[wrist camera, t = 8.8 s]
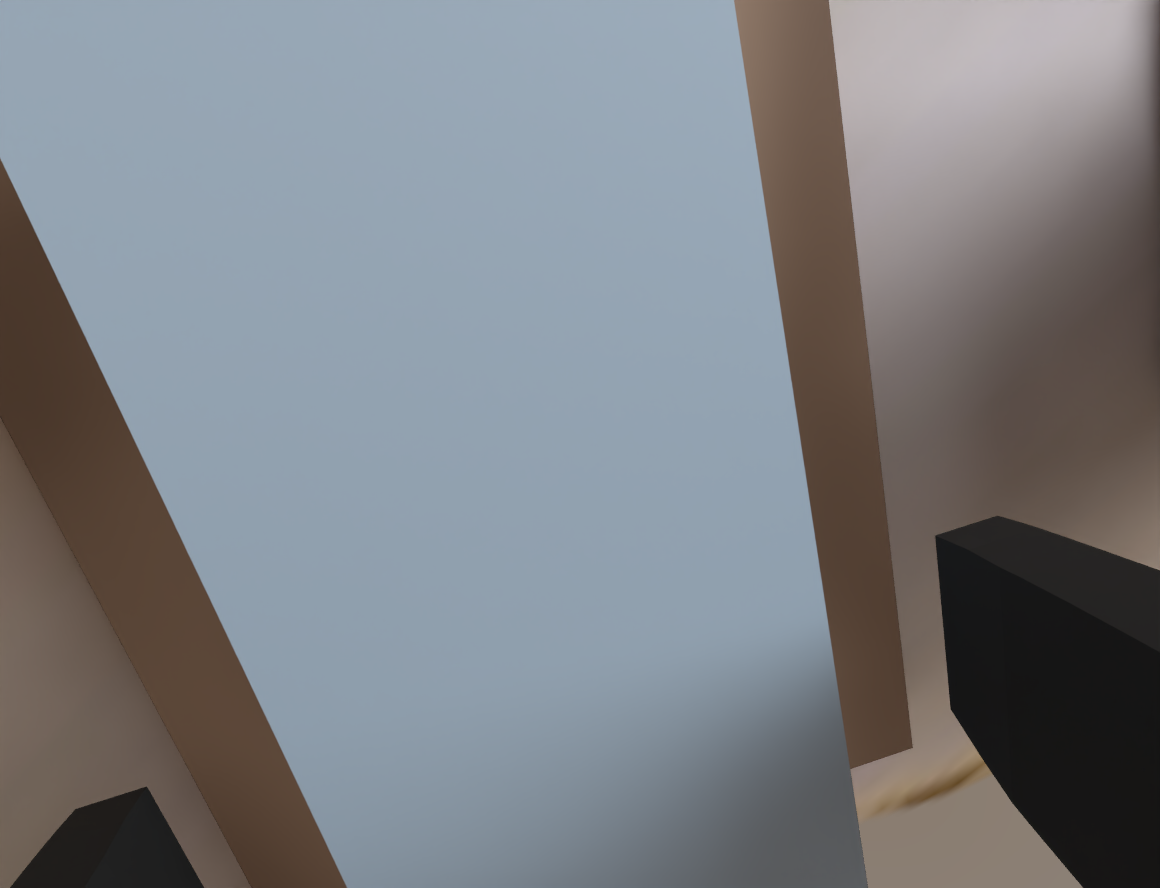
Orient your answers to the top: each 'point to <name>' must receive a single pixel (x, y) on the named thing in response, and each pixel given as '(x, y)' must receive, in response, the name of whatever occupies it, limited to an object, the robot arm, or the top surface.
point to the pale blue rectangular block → (463, 415)
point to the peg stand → (183, 608)
